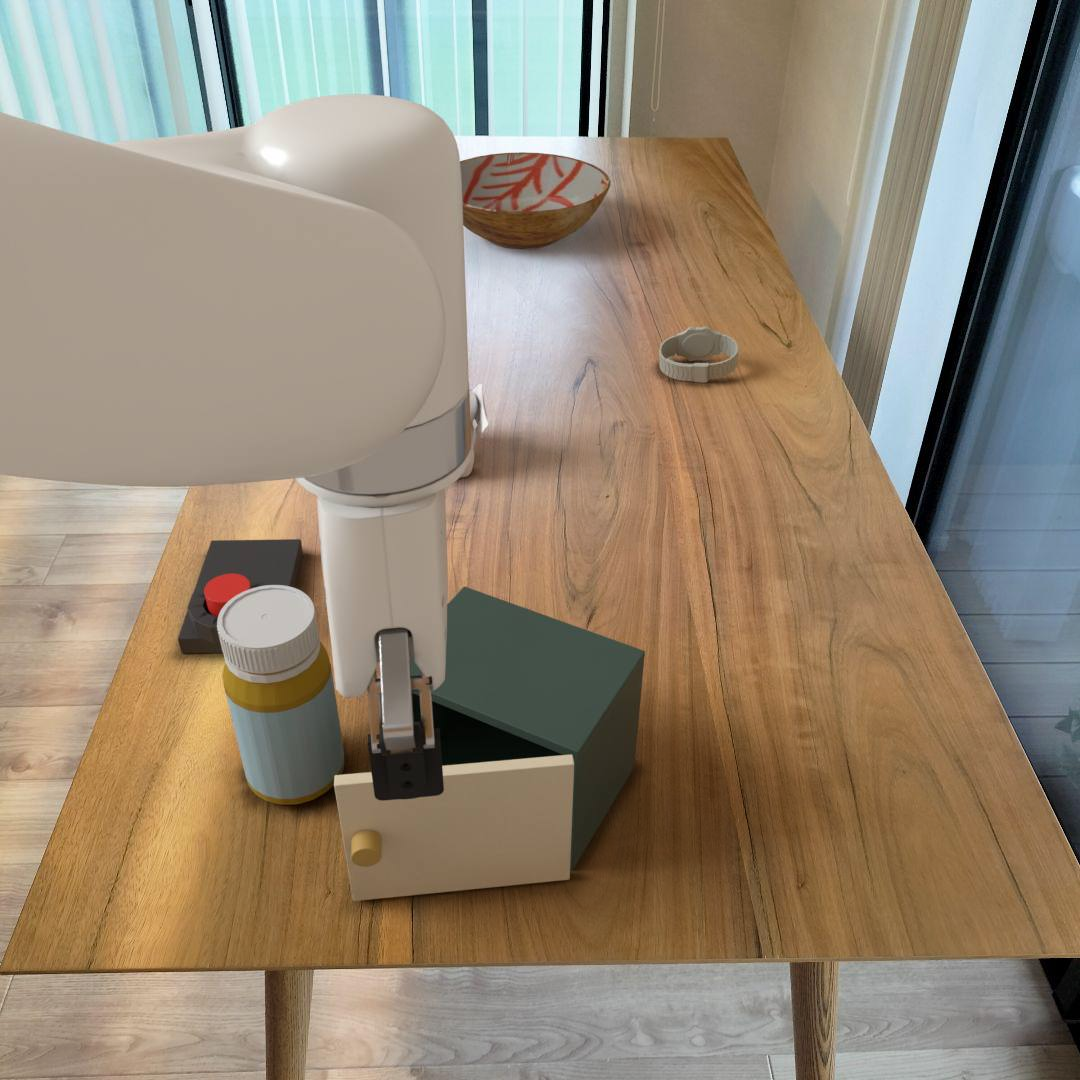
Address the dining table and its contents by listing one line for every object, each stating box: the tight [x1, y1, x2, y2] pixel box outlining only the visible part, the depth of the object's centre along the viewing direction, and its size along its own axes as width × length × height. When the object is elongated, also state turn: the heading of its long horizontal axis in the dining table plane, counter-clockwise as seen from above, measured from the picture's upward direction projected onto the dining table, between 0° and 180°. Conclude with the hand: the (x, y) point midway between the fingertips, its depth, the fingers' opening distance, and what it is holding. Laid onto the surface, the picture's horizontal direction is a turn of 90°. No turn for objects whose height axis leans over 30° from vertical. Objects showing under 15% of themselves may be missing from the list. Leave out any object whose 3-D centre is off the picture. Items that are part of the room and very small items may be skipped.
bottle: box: [217, 585, 346, 806], centre depth 73 cm, size 7×7×15 cm
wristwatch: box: [658, 326, 739, 384], centre depth 124 cm, size 9×6×5 cm
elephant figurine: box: [459, 383, 489, 479], centre depth 108 cm, size 10×12×9 cm
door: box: [333, 754, 574, 902], centre depth 66 cm, size 2×14×11 cm, turn 97°
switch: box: [177, 538, 304, 655], centre depth 91 cm, size 14×8×4 cm, turn 2°
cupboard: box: [410, 585, 646, 870], centre depth 74 cm, size 10×14×12 cm
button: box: [204, 574, 251, 617], centre depth 87 cm, size 4×4×2 cm
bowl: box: [460, 151, 611, 250], centre depth 156 cm, size 25×25×8 cm
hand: (407, 716), depth 54 cm, fingers open, 9 cm apart
